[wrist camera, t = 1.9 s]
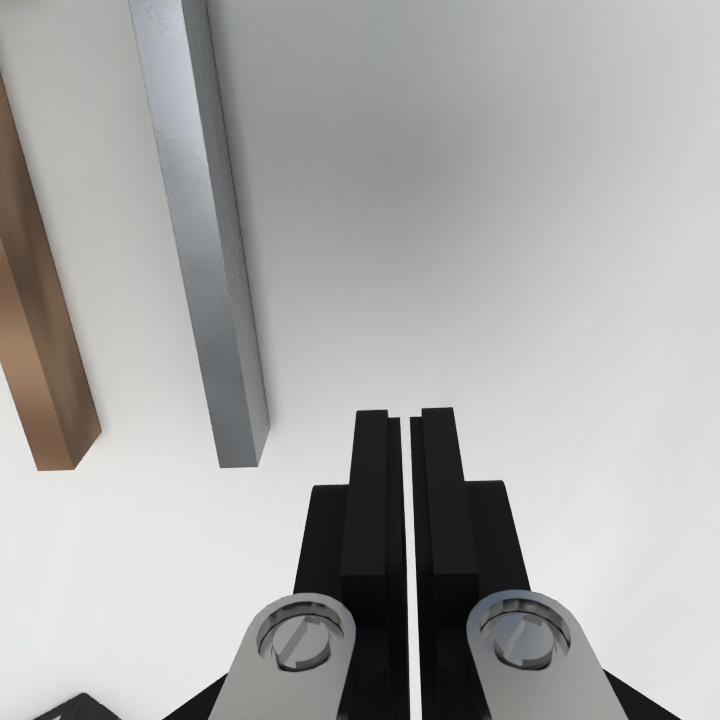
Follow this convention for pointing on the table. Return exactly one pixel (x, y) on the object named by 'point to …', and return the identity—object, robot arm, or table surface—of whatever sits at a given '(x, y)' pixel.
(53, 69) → the table surface
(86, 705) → the disk drive
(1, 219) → the brown bar with block
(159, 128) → the long gray metal bar
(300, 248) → the table surface
